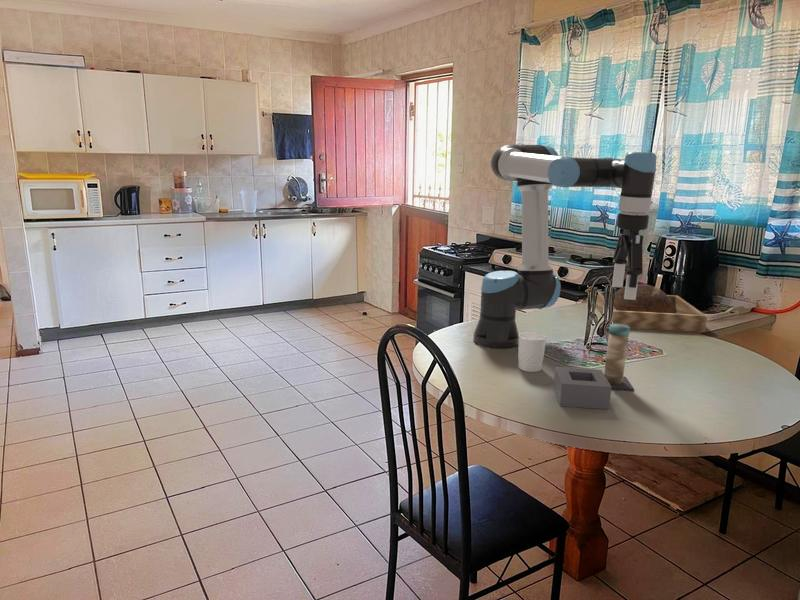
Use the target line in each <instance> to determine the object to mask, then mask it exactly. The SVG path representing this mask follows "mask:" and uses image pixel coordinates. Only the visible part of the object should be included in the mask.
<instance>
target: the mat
mask: <svg viewBox="0 0 800 600" xmlns="http://www.w3.org/2000/svg"><path fill="white" fill-rule="evenodd" d="M610 385H611V391H612V390H615V391H629V392H635V388H634V387H633V385H632V384H631V382H630V380H629V379H628V378H627V376H623V383H622V384H620V385H612V384H610Z"/></svg>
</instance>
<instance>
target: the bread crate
mask: <svg viewBox="0 0 800 600" xmlns="http://www.w3.org/2000/svg"><path fill="white" fill-rule="evenodd" d="M597 292H598V295H597V303H596V307H595V308H596V309H597V311H598V312H599V313H600V314H601V315H602V313H603V306H604V292H605V291H597ZM666 295H667V296H668V297H669V298H670V300H671V301H672V303H673V305H674V308H675V311H676V314H674V313H655V312H637V311H619V310H616V309H615V308H614V310H613V317H612V322H613V324H624V325H627V326H629V327H630V329H642V330H643V329H644V330H663V331H676V332H677V331H678V332H680V331H681V332H697V333H705V332H706V329H707V328H706V327H707V321H708V315H706V314H705V313H704V312H702V311H701V310H699V309H697V308H696V307H695V306H694V305H692V304H690V302H687V301H686V300H685V299H684V298H682V297H681V296H679V295H675V294H674V295H673V294H671V295H670V294H666Z"/></svg>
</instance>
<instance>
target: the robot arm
mask: <svg viewBox="0 0 800 600" xmlns="http://www.w3.org/2000/svg"><path fill="white" fill-rule="evenodd" d="M490 166H491V170H492V172H493V174H494V175H495V176H496V177H497V178H499V179H501V180H503V181H508V182H516V187H517V189H518V191H520V193H521V246H522V247H521V257H522V258H521V264H520V266H519V267H518V268H517V272H516V271H514V270H495V271H492V272H489V273H486V274H485V275H484V276H483V278H482V283H481V287H480V289H481V292H480V293H481V295H480V308H479V309H480V313H479V319H478V321H477V325H476V327H475V329H474V331H473V339H472V340H473V341H474V343H476V344H478V345H481V346H484V347H487V348H493V349H494V348H496V349H507V348H513V347H516V346H518V344H519V334H520V333H519V330H518V327H517V323H516V315H517V314H516V313H517V311H524V310H536V309H537V310H542V309H545V308H546V309H547V308H551V307H552V306H554V305H555V304H556V302H558V299H559V297H560V295H561V288H562V287H561V286H562V285H561V280H559V279H560V278H559V276H558V275H557V274H555V273H554V268H553V267H552V266H551V265H550V264H549V192H550V190H551V189H552V188H553V187H560V188H572V187H573V188H579V187H580V188H613V189H614V188H616V189H620V190H621V191H620V196H619V202H618V212H619V213H618V215H617V221H616V227H617V228H619V235H618V238H617V242H616V246H615V248H614V254H613V256H612V258H613V259H612V260H614V267H613V275H612V282H611V287H612V288H623V287H625V286H626V287H625V294H624V299H630V300H636V293H637V286H638V284H639V277H640V275H642V274H643V245H644V244H643V242H644V241H643V240H644V236H643V235H640V231H644V230H647V229H648V226H649V225H648V224H649V219H650V216H649V213H650V209H651V205H653V203H654V202H653V200H652V198H653V197H652V195H653V190H654V181H655V176H656V171H657V155H656V153H655V152H651V151H649V152H648V151H647V152H645V151H643V152H641V151H628V152H626V153H625V157H624V159H623V158H611V157H603V158H600V157H599V158H597V157H596V158H593V157H588V158H586V157H570V156H560V155H559V154H558V151H556V149H555V148H553V147H552V146H549V145H543V144H516V143H515V144H506V145H503V146H501V147H499V148H498V149H497V150H495V152H494V153H493V155H492V157H491V160H490ZM626 264H627V266H628V270H626ZM625 270H626V272H625ZM625 275H626V280H625ZM624 280H625V286H624Z"/></svg>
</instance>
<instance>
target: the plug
mask: <svg viewBox="0 0 800 600" xmlns="http://www.w3.org/2000/svg"><path fill="white" fill-rule="evenodd" d="M608 327H609V328H608V339H607V348H606V357H605V365H604V372H603V373H604V375H605V377H606V379H607V380H608V382H609V384H612V385H620V384H622V383H623V377H624V375H625V374H624V373H625V368H626V367H625V366H626V359H627V358H626V357H627V350H628V341H629V335H630V330H631V328H630V327H629V326H627V325H624V324H609V326H608Z"/></svg>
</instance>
